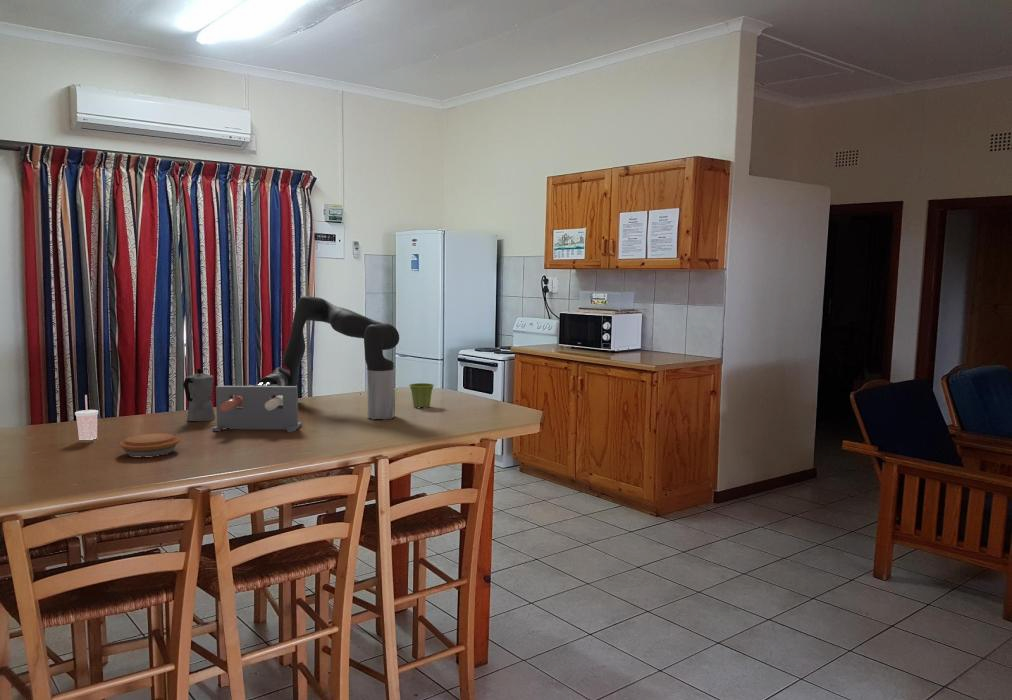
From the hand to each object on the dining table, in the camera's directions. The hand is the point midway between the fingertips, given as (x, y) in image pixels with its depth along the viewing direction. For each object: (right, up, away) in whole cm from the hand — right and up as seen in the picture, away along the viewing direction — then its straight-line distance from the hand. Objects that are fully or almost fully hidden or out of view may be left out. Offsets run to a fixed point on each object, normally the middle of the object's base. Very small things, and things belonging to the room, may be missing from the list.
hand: (256, 392), depth 260 cm
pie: (-12, -15, -52) cm, 55 cm away
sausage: (0, -5, -22) cm, 23 cm away
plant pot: (+55, -7, +24) cm, 61 cm away
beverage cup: (-38, -13, -37) cm, 55 cm away
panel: (+7, -11, -18) cm, 22 cm away
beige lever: (+13, -4, -19) cm, 24 cm away
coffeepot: (-18, -10, -4) cm, 21 cm away
